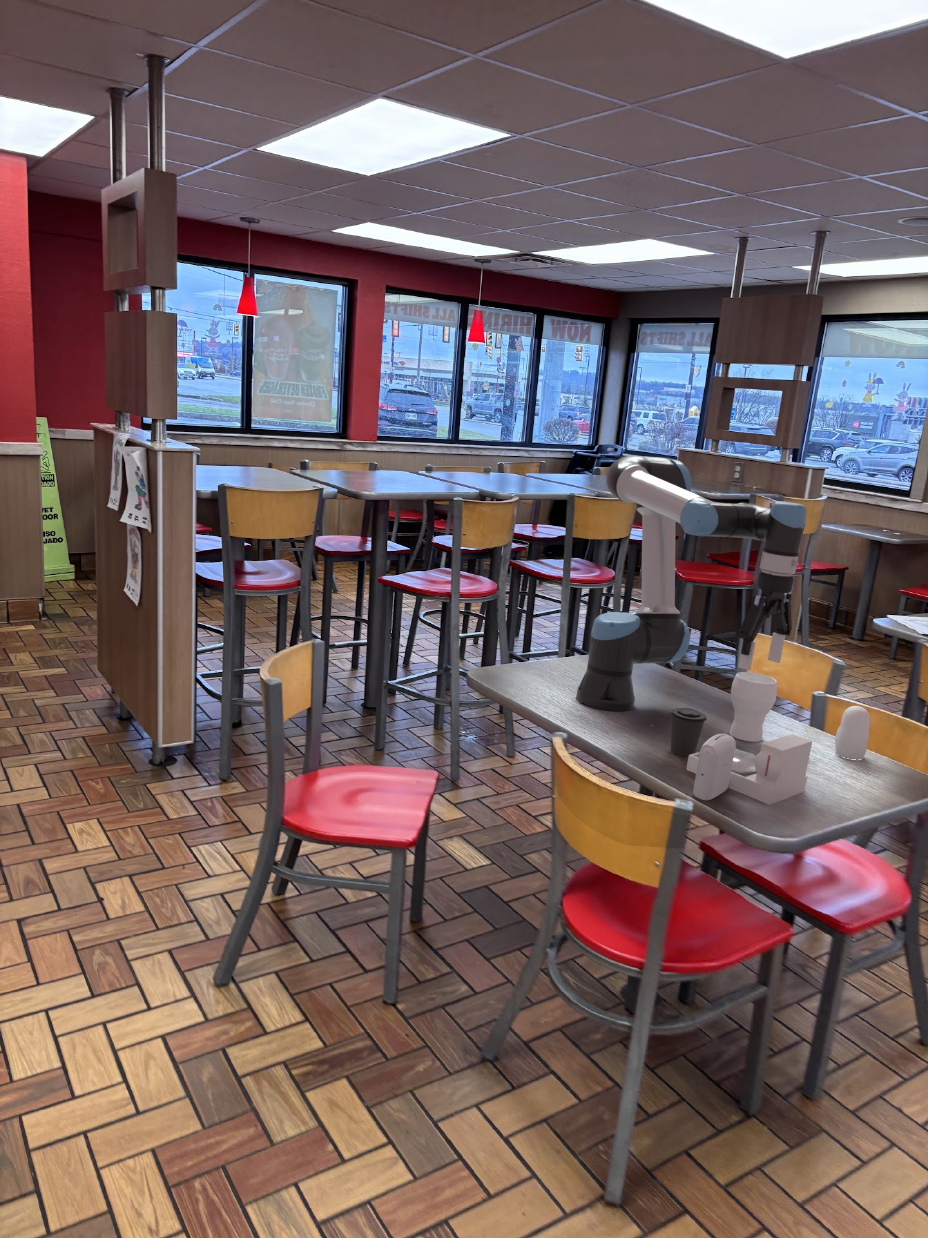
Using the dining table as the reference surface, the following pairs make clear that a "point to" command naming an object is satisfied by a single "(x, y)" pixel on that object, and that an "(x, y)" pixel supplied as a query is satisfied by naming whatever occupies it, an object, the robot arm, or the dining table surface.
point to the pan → (743, 762)
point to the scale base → (772, 770)
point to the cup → (751, 704)
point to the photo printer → (714, 766)
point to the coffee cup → (686, 730)
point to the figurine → (853, 733)
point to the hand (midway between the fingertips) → (759, 665)
